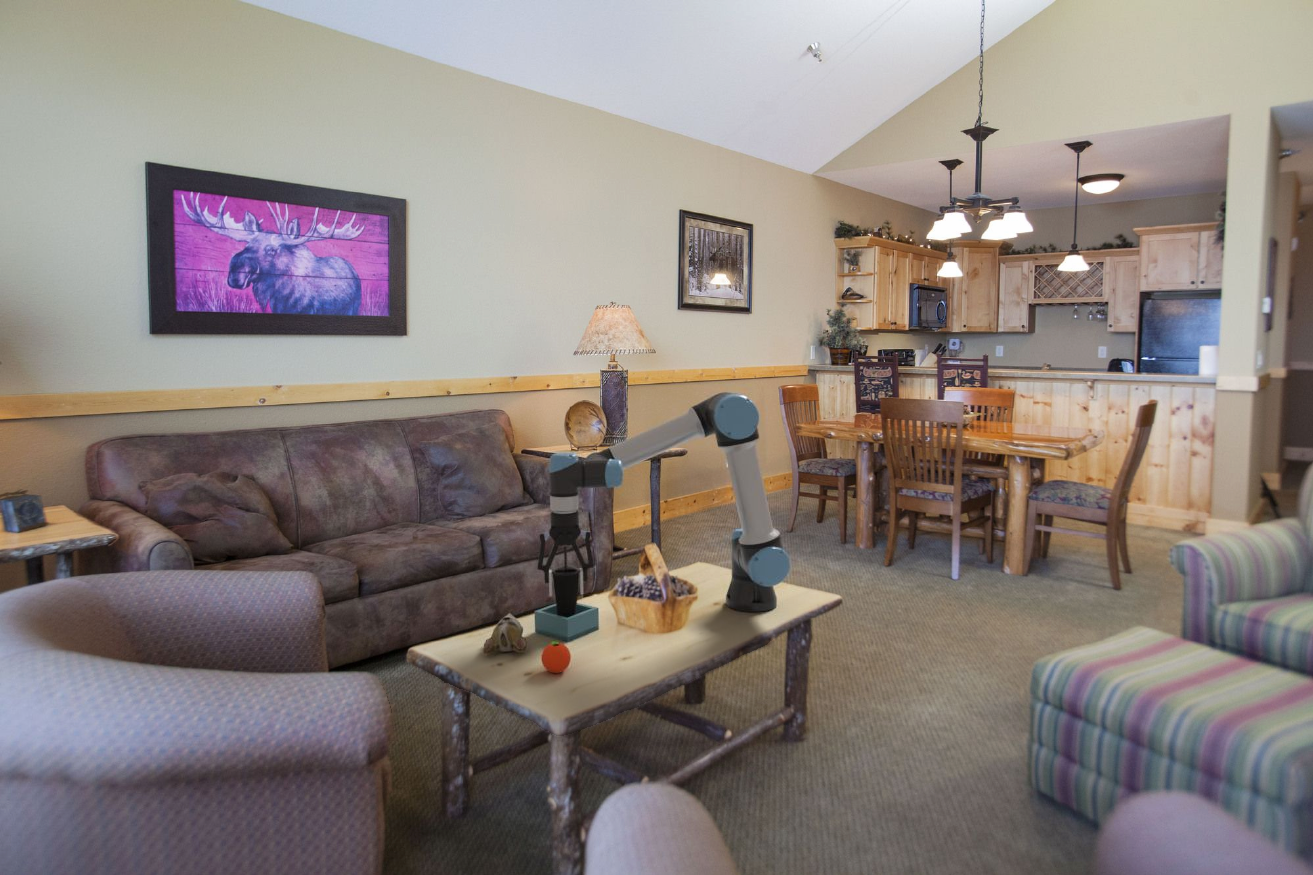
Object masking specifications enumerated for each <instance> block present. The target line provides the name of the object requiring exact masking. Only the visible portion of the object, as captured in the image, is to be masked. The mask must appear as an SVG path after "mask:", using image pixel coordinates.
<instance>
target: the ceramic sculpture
mask: <svg viewBox="0 0 1313 875" xmlns="http://www.w3.org/2000/svg"><path fill="white" fill-rule="evenodd" d="M523 633H524V627H523V626H522V624H521V623H520V621H519V619H517V618H516V617H515V616H514V615H512V614H511V613H510V612H508V613H507V615H505V616H504V617H502V618H501V619H500V620H499V621H498V623H497V624H496V626H495V627H494V628H493V631H492V634H491V637H489V638H487V639H485V641H484V643H483V653H484V654H486V655H491V654H494V653H495V652H497V651H499V652H502V653H505V652H508V653H509V652H512V651H513V652H516V653H523V652H525V650H526V648H527V640H526V638H525V637H524V636H523ZM484 654H483V655H484Z"/></svg>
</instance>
